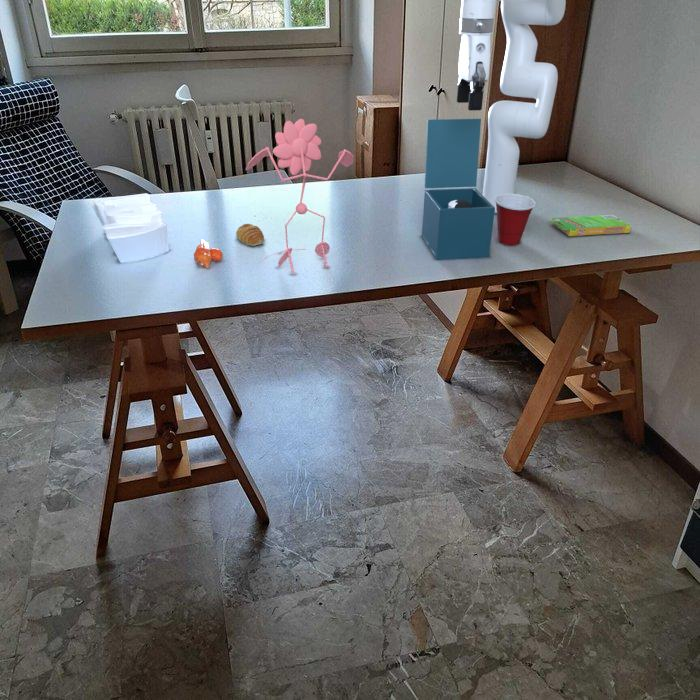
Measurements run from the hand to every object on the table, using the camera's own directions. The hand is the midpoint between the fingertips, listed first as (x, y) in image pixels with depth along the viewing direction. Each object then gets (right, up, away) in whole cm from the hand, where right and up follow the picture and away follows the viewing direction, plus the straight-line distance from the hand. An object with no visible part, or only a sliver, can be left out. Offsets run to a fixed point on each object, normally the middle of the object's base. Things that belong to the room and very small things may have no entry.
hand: (468, 106), depth 159 cm
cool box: (0, -31, +19) cm, 36 cm away
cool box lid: (-1, -7, +15) cm, 17 cm away
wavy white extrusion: (-87, -30, +19) cm, 94 cm away
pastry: (-55, -29, +22) cm, 66 cm away
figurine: (-41, -36, +10) cm, 56 cm away
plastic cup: (+15, -29, +23) cm, 40 cm away
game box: (+40, -24, +32) cm, 56 cm away
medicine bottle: (0, -31, +18) cm, 36 cm away
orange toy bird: (-64, -37, +9) cm, 75 cm away
